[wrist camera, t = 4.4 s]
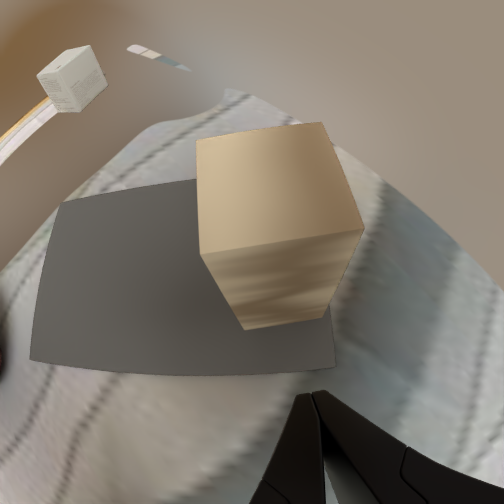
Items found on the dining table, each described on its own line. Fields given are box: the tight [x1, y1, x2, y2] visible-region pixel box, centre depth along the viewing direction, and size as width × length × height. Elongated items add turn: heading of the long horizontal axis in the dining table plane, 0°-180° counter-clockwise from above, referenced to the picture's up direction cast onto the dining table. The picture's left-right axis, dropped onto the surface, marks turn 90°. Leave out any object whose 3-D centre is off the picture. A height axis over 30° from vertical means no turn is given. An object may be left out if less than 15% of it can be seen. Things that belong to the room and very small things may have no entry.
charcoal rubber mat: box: [30, 179, 336, 376], centre depth 19 cm, size 22×14×1 cm, turn 92°
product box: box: [37, 45, 108, 113], centre depth 29 cm, size 6×6×7 cm
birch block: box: [196, 122, 364, 330], centre depth 13 cm, size 4×4×10 cm
